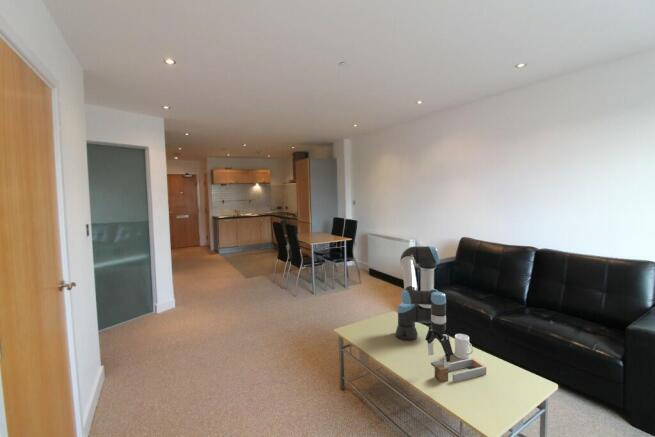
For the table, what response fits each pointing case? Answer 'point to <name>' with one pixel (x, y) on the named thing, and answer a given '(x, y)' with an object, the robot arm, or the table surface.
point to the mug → (462, 346)
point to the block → (441, 372)
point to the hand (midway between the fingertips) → (438, 360)
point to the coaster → (437, 362)
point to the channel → (473, 371)
